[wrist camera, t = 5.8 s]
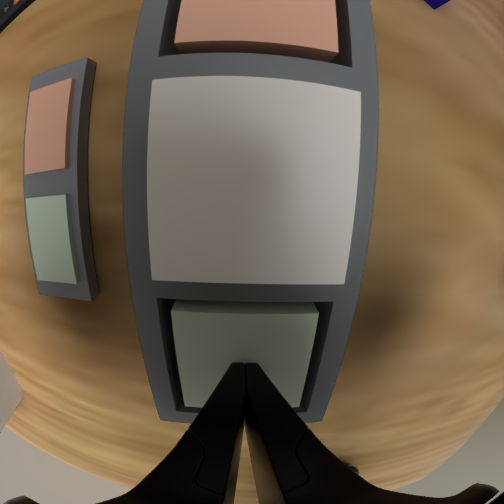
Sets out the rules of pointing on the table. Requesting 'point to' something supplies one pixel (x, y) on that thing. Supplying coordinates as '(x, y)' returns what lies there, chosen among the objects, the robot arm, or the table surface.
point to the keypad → (166, 292)
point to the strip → (59, 181)
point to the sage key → (242, 343)
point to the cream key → (251, 180)
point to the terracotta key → (259, 27)
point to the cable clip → (436, 3)
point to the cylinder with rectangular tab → (8, 392)
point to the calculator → (11, 11)
